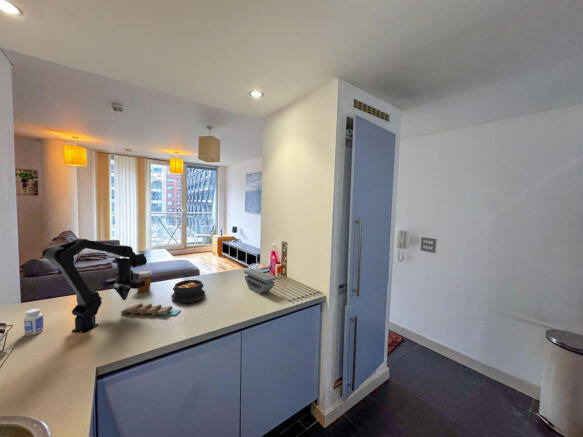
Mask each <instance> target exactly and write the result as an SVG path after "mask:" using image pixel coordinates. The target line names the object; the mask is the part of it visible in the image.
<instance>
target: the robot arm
mask: <svg viewBox="0 0 583 437" xmlns="http://www.w3.org/2000/svg"><path fill="white" fill-rule="evenodd" d="M85 249H89V250H93V251H98V252H99V251H100V252H104V253H105V252H106V253H108V254H112V256H113V255H114V256H116V257H115V258H114V259H113V260H112V261H111V263H113V264H116V272H115V273H114V275H115V276H116V277H117V278H109V279H107V280H104V281H103V282H102V288H109V287H110V286H111V285H112V286H114V287H113V290H114V291H115V292H116V293H117V294H118V295H119V296H120V299H121V300H122V301H126V300H127V298H128V295H129V293H130V291H131V289H135V290H138V288H140V287H142V286H144V285H145V281H144V280H136V279H139V274H138V273H136V272H134V270H132V268H133V269H134V268H139V267H143V266H146V265H147V263H148V259H147V257H146V256H145V253H143V252H139V253H135V252H134V250H133V247H132V246H130V245H124V244H110V243H109V244H108V243H104V242H99V241H94V240H89V239H87V238H82V237H81V238H80V237H79V238H77V239H74V240H72V241H70V242H67V243H64V244H61V245H59V246H54V247H53V246H52V247H51V248H49V249H47V250H46V253H44V257H45V259H46V260H48V261H49V262H50V264H52V265H53V266H55V267H56V268H57V269H59V270H60V272H61V273H62V275H63V277H64V278H65V280H66V281H67V283H68V284H69V286H70V287H71V289H72V290H73V292H74V293H75V295H76V302H77V304H76V305H75V307H74V308H73V309H72V310H71V314H72V316H75V317H74V329H72V330H71V332H76V333H86V332H88V331H90V330H92V329H94V328H95V327H97V326H98V325H99V323H97V322H96V316H97V314H98V313H99V309H100V307H101V305H102V303H103V301H102V299H103V298H102V297H101V296H100V294H99V292H98V291H96V290H91V289H90V288H89V287H88V285H87V284H86V282H85V280H84V279H83V277H82V276H81V274H80V272H79V271H78V269H77V267H76V266H75V258H74V256H76V255H78V254H80V253H81V252H83V250H85ZM119 257H120V258H119Z"/></svg>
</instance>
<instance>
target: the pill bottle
mask: <svg viewBox="0 0 583 437" xmlns="http://www.w3.org/2000/svg"><path fill="white" fill-rule="evenodd" d="M25 314H26V316H25V317H24V318H23V327H24V336H26V337H27V336H29V337H30V336H34V335H38V334H40V333H41V332H43V331H44V315H43V313H41V309H40V308H32V309H29V310H27V311H25Z"/></svg>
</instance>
